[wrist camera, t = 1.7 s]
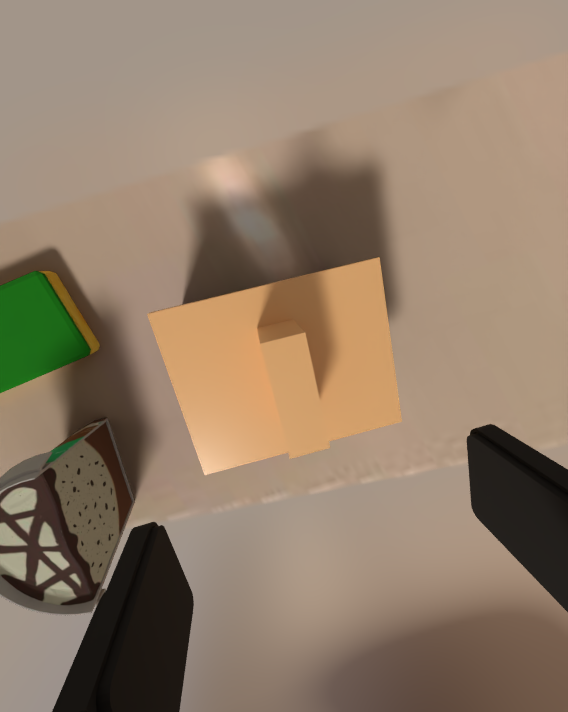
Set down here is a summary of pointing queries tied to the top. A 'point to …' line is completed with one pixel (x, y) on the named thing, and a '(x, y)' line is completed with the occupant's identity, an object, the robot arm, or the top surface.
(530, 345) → the top surface
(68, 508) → the food container
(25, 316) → the dish sponge
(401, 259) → the top surface
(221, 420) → the lid
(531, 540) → the robot arm
